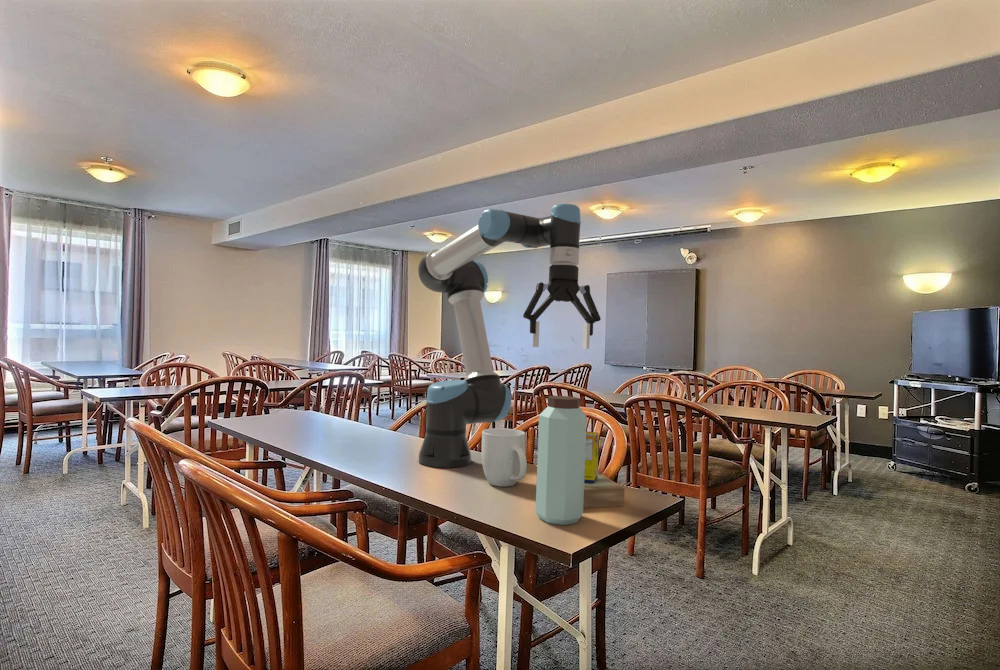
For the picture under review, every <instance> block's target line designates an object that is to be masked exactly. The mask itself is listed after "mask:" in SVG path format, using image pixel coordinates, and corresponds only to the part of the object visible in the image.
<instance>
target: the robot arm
mask: <svg viewBox="0 0 1000 670" xmlns="http://www.w3.org/2000/svg"><path fill="white" fill-rule="evenodd" d="M581 223H582V222H581V209H580V207H579V206H578V205H576V204H572V203H558V204H555V205H553V206H552V207H551V212H550V215H549V216H546V217H544V216H543V217H536V216H529V215H526V214H520V213H515V212H510V211H505V210H504V209H496V208H488V209H485V210H484V211H483V212H482V213H481V215H480V216H479V219H478V221H477V225H475V226H474V227H472V228H471V229H469V230H467V231H466V232H464V233H463V234H461V235H460V236H458V237H457V238H455V239H454V240H452V241H451V242H449V243H448V244H446V245H444V246H443V247H442V248H440V249H432V250H431V251H428V252H427V254H425V255H424V256H423V257H422V258H421V259H420V261H419V264H418V269H417V270H418V271H417V272H418V278H419V280H420V282H421V283H422V285H423V286H424V287H425V288H427V289H428V290H429V291H433V292H436V293H441V294H442V293H444V294H446V297H447V301H448V303H450V305H452V306H454V307H453V308H454V314H455V319H456V327H457V331H458V336H459V342H460V348H461V353H462V354H461V355H462V359H463V367H464V370H465V378H464V379H463V380H462V379H454V380H453V379H452V380H451V379H450V380H449V379H448V380H441V381H436V382H433V383H431V384H430V385H429V386H428V388H427V390H426V391H427V392H426V393H427V394H426V398H425V399H426V411H425V412H426V413H425V415H426V417H425V418H426V419H425V436H424V438H423V441H422V444H421V446H420V450H419V453H418V463H419V464H421V465H423V466H427V467H430V468H431V467H432V468H457V467H458V468H459V467H465V466H467V465H471V462H472V454H471V450H470V447H469V443H468V439H467V436H466V435H467V425H471V424H481V423H482V424H484V423H488V424H489V423H490V424H492V423H494V422H500V421H502V420H504V418H506V417H507V415H508V414H509V411H510V409H511V407H512V393H511V389H510V388H509V387H508V385H507V384H505V383H503V382H501V377H500V374H498V373H497V372H495V371H494V367H493V362H492V357H491V352H490V346H489V342H488V341H489V340H488V336H487V332H486V331H487V330H486V324H485V319H484V314H483V308H482V304H481V300H482V299H483V297H484V295H485V294H484V293H485V292H486V290H487V288H488V283H489V275H488V272H487V268H486V267H485V266H484V265H483V264H482V263H481V262H480V261H478V260H475V259H478V258H479V257H481V256H483V255H484V254H486V253H487V252H489V251H491V250H493V249H494V248H496V247H498V246H500V245H502V244H504V243H506V242H507V243H513V244H521V246H523V247H524V248H527V249H537V248H541V247H547V246H549V264H550V266H548V267H549V270H548V271H549V273H548V283H547V284H546V283H544V282H543V281H541V282H539V283H536V287H535V292H534V293H533V296H532V298H531V299H530V300H529V301H530V302H529V303H528V305H527V307H526V309H525V311H524V313H523V315H522V317H523V318H524V319H527V320H528V321H529V334H532V335H533V336H532V337H533V338H532V347H533V348H539V346H540V345H539V342H540V320H539V321H538V318H540V317H541V315H542V314H543V313H544V312H545V311H546V310H547V308H548V307H549V306H550V305H551V304H552V303H553V302H554V301H555V302H563V303H564V302H566V303H569V302H570V303H571V304H573V306H574V308H575V309H576V310H577V312H578V313H579V314H580V315H581V317H582V318H583V319H584V321H585V323H583V325H582V327H583V328H582V331H583V332H582V349H585V350H586V349H587V350H588V349H590V338H591V337H590V336H593V334H594V323H597V322H600V321H601V320H602V319H601V315H600V314H599V311H598V308H597V306H596V304H595V302H594V300H593V297H592V294H591V287H590V285H588V284H587V285H585V284H584V285H582V286H581V285H579V268H580V267H578V265H579V264H580V261H579V260H580V235H581ZM546 290H547V291H548V293H549V294H548V296H546V298H545V300H544V301H543V302H542V303H541V304H540V305H539V306H538V308H537V309H536V310H535V308H536V306H537V304H538V302H539V300H540V298H541V296H542V295H543V293H544V292H545V291H546ZM578 293H580V294H581V295H582V297H583V300H584V302H585V304H586V307H587V308H586V307H585V305H584V304H583V303H582V301H581V299H580V298H579V297H578V295H577V294H578ZM587 309H588V310H587ZM533 312H534V313H533Z"/></svg>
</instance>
